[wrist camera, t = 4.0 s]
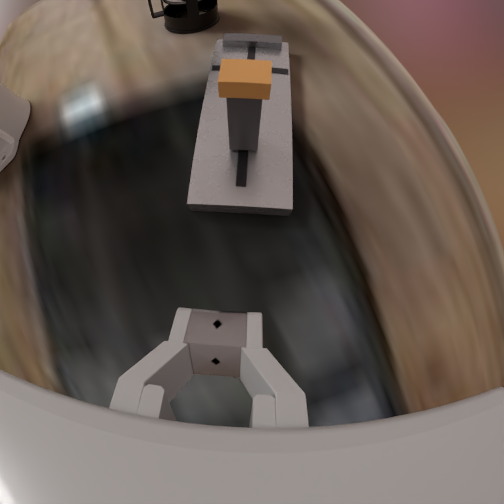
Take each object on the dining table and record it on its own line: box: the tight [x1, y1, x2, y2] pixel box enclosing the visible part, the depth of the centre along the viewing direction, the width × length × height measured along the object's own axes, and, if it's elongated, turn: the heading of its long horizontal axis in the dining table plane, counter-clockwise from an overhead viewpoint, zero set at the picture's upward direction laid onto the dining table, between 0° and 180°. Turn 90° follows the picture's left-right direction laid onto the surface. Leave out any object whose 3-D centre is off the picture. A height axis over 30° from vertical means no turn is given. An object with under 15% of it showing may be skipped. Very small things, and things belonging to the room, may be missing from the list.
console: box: [187, 33, 293, 216], centre depth 30 cm, size 26×10×3 cm, turn 177°
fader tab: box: [218, 59, 272, 151], centre depth 23 cm, size 3×4×10 cm
